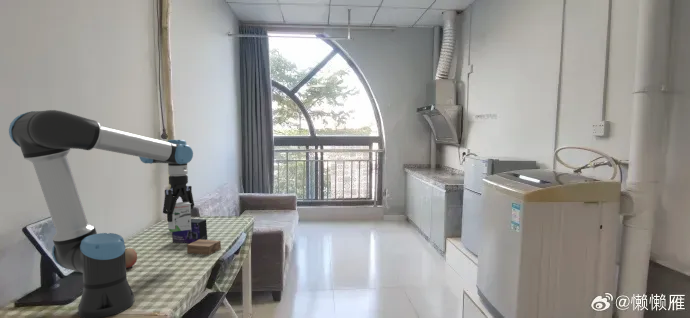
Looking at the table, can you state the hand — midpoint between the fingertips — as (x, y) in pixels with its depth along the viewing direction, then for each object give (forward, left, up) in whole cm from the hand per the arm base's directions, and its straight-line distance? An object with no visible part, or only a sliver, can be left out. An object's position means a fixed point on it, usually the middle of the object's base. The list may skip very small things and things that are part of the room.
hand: (179, 226), depth 155 cm
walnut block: (+15, 0, -16) cm, 22 cm away
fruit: (-11, +19, -16) cm, 27 cm away
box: (+26, +17, -16) cm, 35 cm away
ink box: (0, 0, -2) cm, 2 cm away
